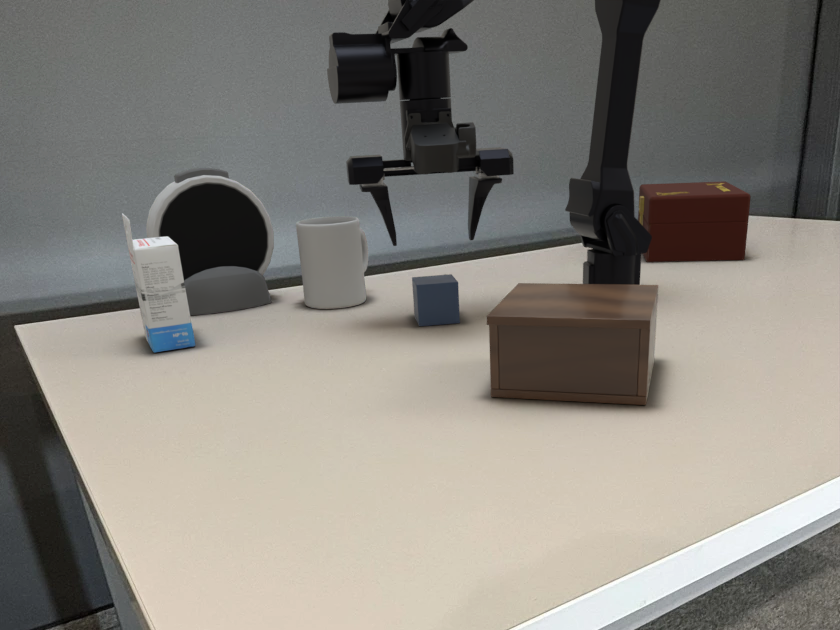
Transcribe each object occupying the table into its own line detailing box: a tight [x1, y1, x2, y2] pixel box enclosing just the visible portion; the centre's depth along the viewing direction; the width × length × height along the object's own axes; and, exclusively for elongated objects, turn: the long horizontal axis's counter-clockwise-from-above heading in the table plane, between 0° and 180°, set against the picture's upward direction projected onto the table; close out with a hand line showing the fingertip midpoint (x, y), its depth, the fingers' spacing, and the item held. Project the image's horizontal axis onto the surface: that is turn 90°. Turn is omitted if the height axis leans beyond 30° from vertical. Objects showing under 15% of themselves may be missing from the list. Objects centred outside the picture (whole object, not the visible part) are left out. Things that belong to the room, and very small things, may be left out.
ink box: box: [121, 212, 196, 353], centre depth 91 cm, size 8×5×15 cm, turn 26°
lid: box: [486, 282, 659, 329], centre depth 72 cm, size 13×14×1 cm
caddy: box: [488, 294, 659, 406], centre depth 74 cm, size 13×14×7 cm
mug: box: [295, 215, 369, 310], centre depth 109 cm, size 12×8×11 cm
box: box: [637, 180, 751, 263], centre depth 133 cm, size 21×16×10 cm
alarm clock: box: [145, 166, 275, 316], centre depth 108 cm, size 16×10×18 cm, turn 117°
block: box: [411, 273, 461, 327], centre depth 97 cm, size 5×5×5 cm
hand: (433, 242), depth 95 cm, fingers open, 9 cm apart
